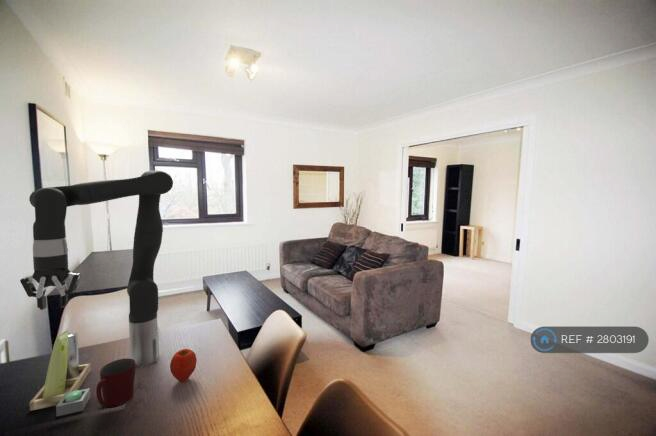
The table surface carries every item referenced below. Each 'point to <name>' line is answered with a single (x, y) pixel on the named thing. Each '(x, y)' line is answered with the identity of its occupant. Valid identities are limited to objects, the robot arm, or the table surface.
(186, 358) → the apple
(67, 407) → the grey square dish
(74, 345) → the seated billet
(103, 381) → the mug
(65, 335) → the tube
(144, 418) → the table surface
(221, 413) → the table surface
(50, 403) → the wooden compartment tray
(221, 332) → the table surface
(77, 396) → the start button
